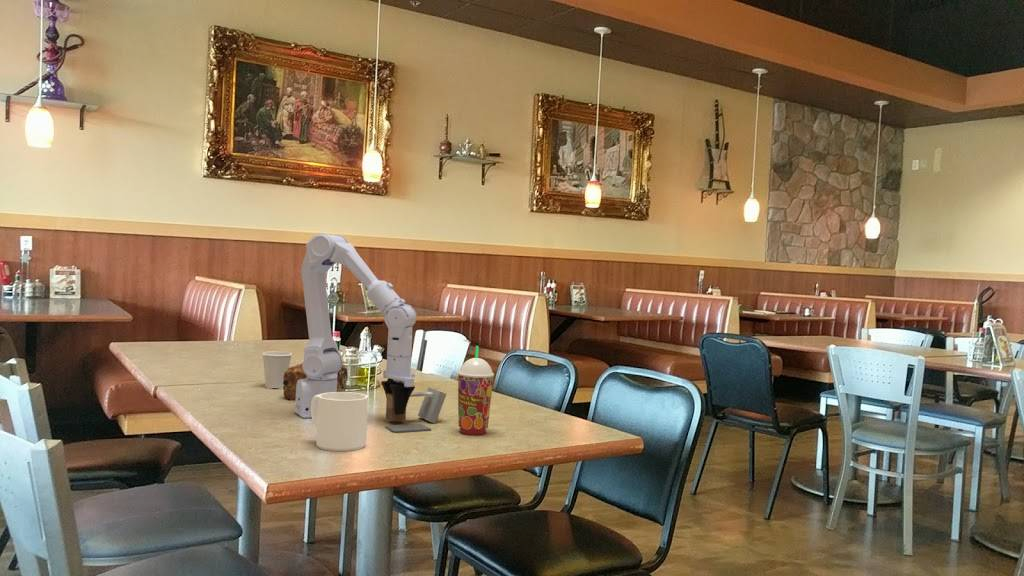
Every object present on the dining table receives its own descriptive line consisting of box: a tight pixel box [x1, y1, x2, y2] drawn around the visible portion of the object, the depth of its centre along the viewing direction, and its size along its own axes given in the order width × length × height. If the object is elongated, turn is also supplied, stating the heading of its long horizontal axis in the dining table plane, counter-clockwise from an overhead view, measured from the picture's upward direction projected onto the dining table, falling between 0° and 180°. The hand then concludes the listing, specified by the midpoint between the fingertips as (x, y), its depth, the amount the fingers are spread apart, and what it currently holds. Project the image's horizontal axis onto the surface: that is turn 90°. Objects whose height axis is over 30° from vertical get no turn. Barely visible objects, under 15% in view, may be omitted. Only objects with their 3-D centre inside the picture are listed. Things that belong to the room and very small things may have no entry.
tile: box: [417, 386, 447, 424], centre depth 190 cm, size 2×7×8 cm, turn 30°
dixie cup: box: [261, 350, 293, 389], centre depth 225 cm, size 8×8×10 cm
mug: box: [311, 391, 369, 452], centre depth 161 cm, size 13×10×10 cm
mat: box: [384, 423, 432, 434], centre depth 179 cm, size 9×6×1 cm, turn 120°
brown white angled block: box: [385, 391, 433, 422], centre depth 187 cm, size 11×4×6 cm, turn 120°
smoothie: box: [457, 345, 495, 436], centre depth 179 cm, size 8×8×20 cm
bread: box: [282, 363, 349, 401], centre depth 214 cm, size 19×11×10 cm, turn 165°
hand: (396, 412), depth 185 cm, fingers closed on brown white angled block, 4 cm apart
